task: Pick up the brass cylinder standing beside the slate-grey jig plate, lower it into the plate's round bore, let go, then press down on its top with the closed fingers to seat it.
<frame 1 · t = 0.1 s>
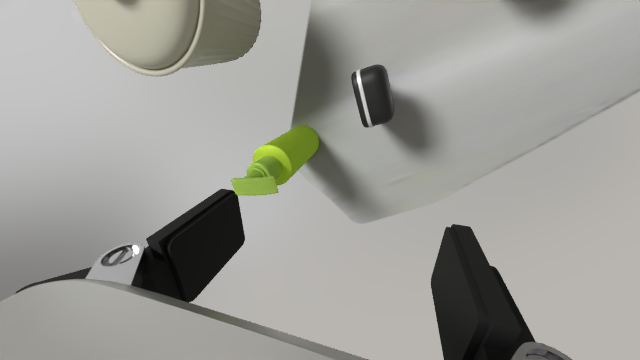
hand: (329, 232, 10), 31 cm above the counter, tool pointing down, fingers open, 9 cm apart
soap dispenser: (307, 140, 43), on the counter
battery charger: (378, 91, 36), on the counter
canister: (230, 14, 37), on the counter
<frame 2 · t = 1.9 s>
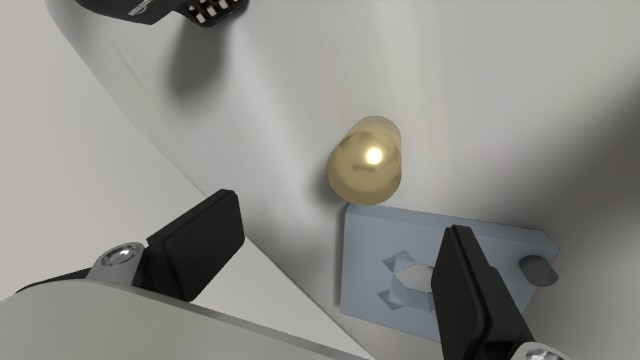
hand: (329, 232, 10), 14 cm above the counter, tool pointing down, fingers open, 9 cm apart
brass cylinder: (373, 142, 22), on the counter
jig: (421, 271, 27), on the counter
battery charger: (224, 3, 21), on the counter
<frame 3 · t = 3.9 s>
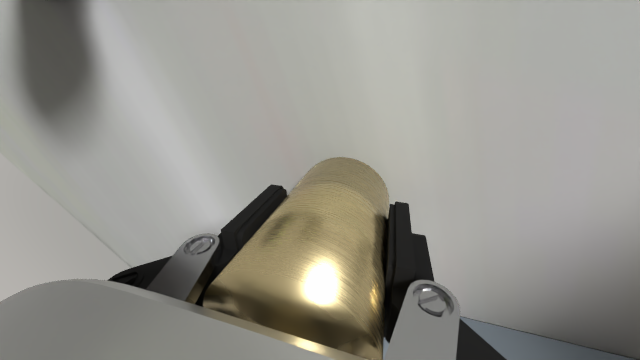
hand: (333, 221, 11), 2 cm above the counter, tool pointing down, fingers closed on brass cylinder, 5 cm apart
brass cylinder: (343, 199, 13), on the counter, touching gripper
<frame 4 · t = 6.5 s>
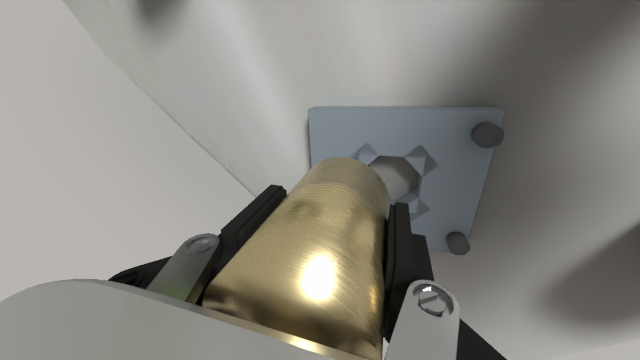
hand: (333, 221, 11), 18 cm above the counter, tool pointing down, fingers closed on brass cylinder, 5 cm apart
brass cylinder: (342, 198, 13), point 15 cm above the counter, touching gripper
jig: (389, 175, 28), on the counter
when the fingers open (4 cm above the counter, at t = 9.2 s): brass cylinder drops 1 cm, resting in jig.
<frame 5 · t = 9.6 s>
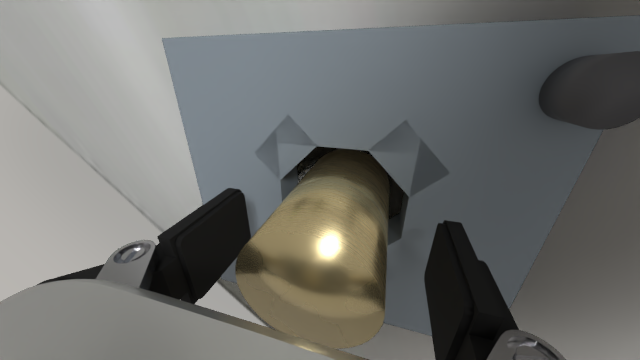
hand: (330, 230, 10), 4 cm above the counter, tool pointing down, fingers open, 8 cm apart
brass cylinder: (347, 187, 14), resting in jig
jig: (347, 188, 14), on the counter
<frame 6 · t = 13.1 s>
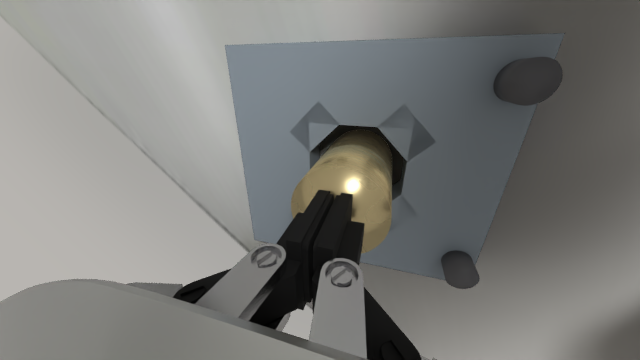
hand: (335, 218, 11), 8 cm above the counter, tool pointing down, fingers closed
brass cylinder: (359, 160, 18), resting in jig, touching gripper
jig: (359, 161, 18), on the counter
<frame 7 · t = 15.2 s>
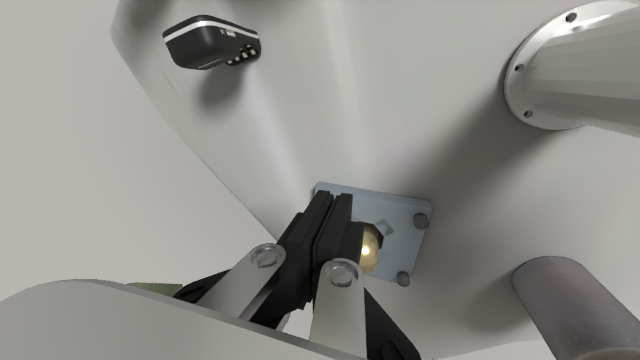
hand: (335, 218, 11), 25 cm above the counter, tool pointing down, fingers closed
pillar candle: (546, 278, 36), on the counter
brass cylinder: (364, 229, 41), resting in jig
jig: (364, 229, 41), on the counter
battery charger: (244, 52, 34), on the counter
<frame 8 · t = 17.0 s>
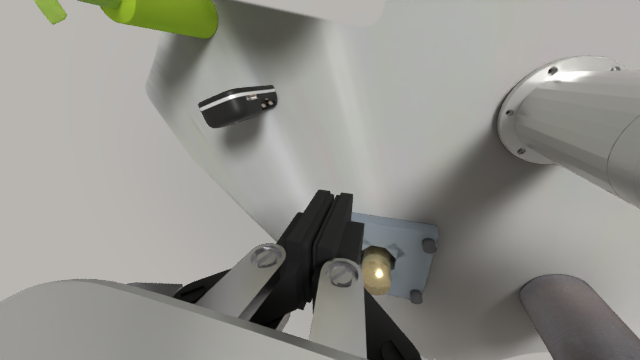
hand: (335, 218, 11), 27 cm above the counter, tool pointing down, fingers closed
soap dispenser: (203, 20, 36), on the counter
pillar candle: (553, 294, 38), on the counter
brass cylinder: (377, 251, 45), resting in jig
jig: (377, 251, 45), on the counter
battery charger: (262, 102, 39), on the counter
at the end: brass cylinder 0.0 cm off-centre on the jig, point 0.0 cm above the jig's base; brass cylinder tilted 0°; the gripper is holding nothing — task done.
